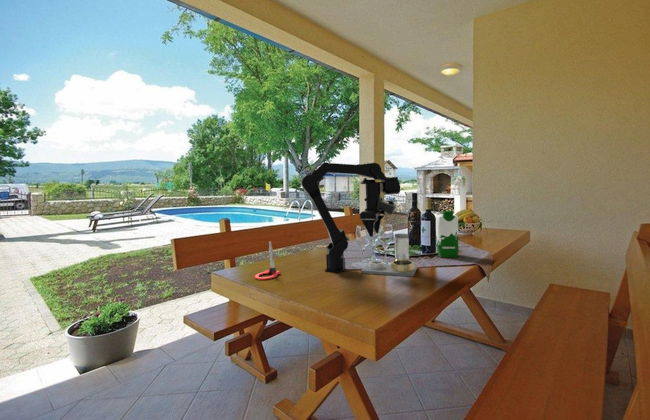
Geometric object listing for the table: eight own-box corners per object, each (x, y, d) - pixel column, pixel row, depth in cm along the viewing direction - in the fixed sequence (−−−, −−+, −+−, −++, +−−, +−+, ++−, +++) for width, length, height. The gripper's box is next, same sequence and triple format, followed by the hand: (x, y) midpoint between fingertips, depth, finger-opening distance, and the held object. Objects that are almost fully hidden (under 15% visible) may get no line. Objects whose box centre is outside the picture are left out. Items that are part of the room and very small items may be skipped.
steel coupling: (394, 270, 120) (393, 235, 119) (396, 267, 125) (395, 233, 124) (408, 271, 118) (407, 235, 117) (410, 267, 123) (409, 233, 122)
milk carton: (439, 258, 140) (438, 211, 138) (435, 253, 149) (434, 210, 147) (460, 257, 139) (460, 211, 137) (455, 253, 148) (454, 209, 146)
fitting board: (361, 273, 122) (360, 270, 122) (368, 265, 132) (368, 263, 132) (413, 276, 115) (412, 273, 115) (416, 268, 125) (416, 266, 125)
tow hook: (268, 282, 117) (283, 274, 125) (264, 247, 115) (280, 241, 123) (250, 280, 121) (265, 272, 129) (246, 246, 119) (262, 240, 127)
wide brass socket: (389, 271, 119) (389, 264, 119) (393, 265, 127) (393, 259, 127) (412, 272, 116) (412, 265, 116) (415, 267, 124) (415, 260, 123)
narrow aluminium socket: (367, 268, 124) (367, 263, 124) (371, 265, 129) (370, 260, 129) (381, 269, 122) (381, 264, 121) (385, 266, 127) (384, 261, 127)
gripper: (388, 196, 116) (389, 239, 117) (398, 193, 133) (399, 231, 134) (358, 196, 120) (360, 238, 122) (371, 194, 138) (372, 231, 139)
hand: (374, 234), depth 129 cm, fingers open, 9 cm apart
